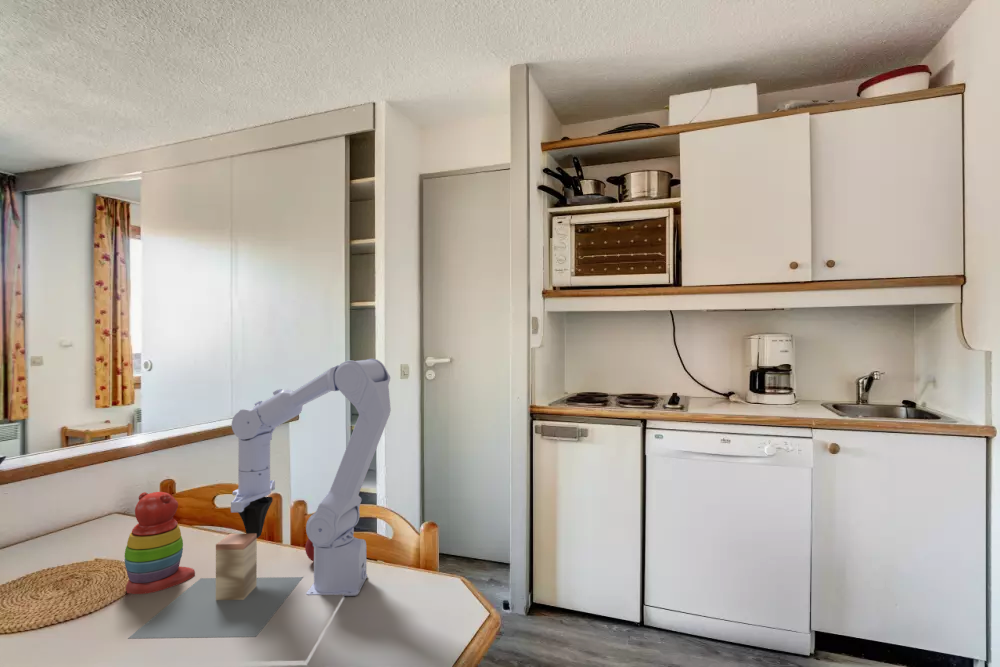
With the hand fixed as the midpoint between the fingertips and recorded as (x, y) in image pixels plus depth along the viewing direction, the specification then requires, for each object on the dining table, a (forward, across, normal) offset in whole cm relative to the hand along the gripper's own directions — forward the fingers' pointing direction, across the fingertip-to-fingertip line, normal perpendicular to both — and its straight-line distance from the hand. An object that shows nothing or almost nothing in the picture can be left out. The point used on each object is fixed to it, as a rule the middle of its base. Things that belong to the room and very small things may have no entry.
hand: (254, 536), depth 101 cm
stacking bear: (+8, +2, -18) cm, 20 cm away
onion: (+8, -6, +11) cm, 15 cm away
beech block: (+8, +7, 0) cm, 10 cm away
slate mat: (+8, +11, 0) cm, 14 cm away
